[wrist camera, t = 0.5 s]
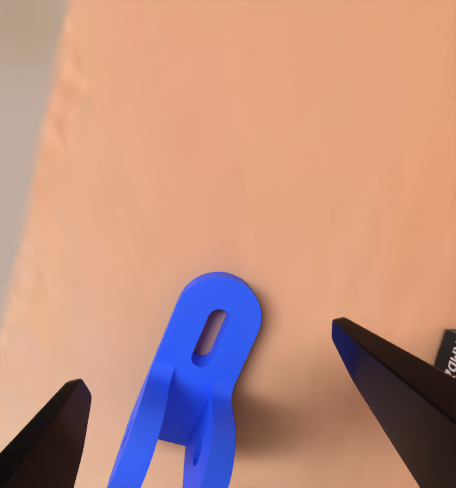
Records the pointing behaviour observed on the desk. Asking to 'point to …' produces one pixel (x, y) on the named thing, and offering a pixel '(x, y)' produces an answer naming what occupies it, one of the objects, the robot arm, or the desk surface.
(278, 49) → the desk surface
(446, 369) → the graphics card box
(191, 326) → the bracket
